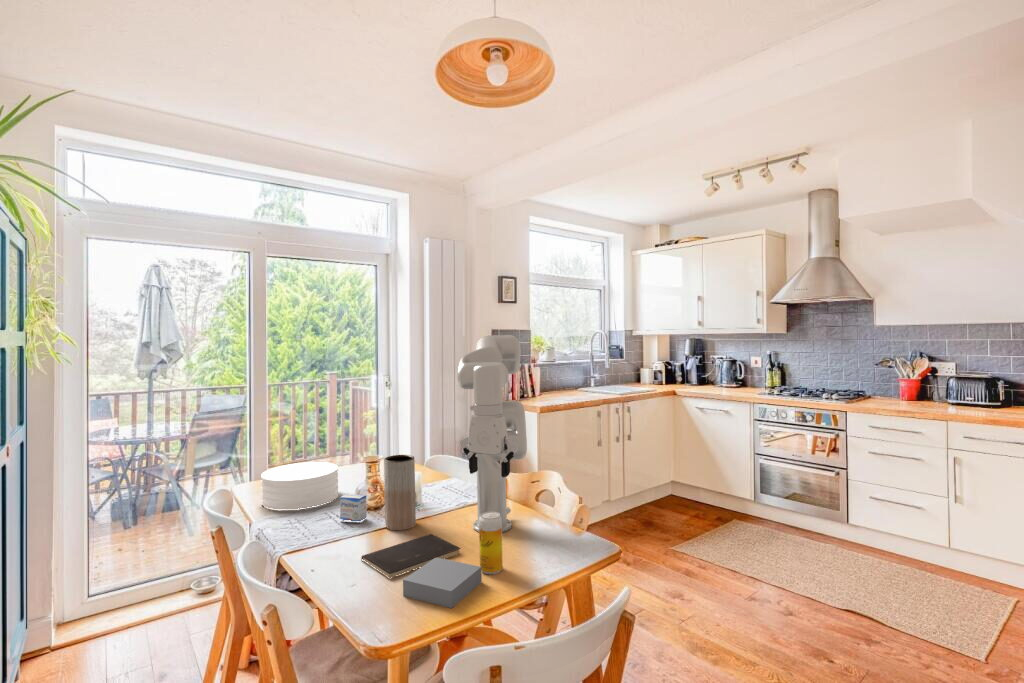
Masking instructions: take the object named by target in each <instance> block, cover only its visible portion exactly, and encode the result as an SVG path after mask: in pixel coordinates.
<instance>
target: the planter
mask: <svg viewBox="0 0 1024 683" xmlns="http://www.w3.org/2000/svg"><path fill="white" fill-rule="evenodd" d="M415 461H416V460H415V456H414V455H411V454H396V455H389V456H386V457H384V458H383V477H384V478H383V479H384V480H383V481H384V482H383V484H384V517H385V518H384V520H385V521H384V523H385V525H384V526H385V528H386V527H387V528H388V530H389V529H390V530H389V531H395V530H399V531H405V530H409V529H411V528H414V526H416V523H417V520H416V519H417V516H416V514H417V512H416V510H417V509H416V474H415V472H416V468H415V467H416V466H415V464H416V463H415ZM387 528H386V529H387Z"/></svg>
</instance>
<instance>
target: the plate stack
mask: <svg viewBox="0 0 1024 683" xmlns="http://www.w3.org/2000/svg"><path fill="white" fill-rule="evenodd" d="M338 471H339V467H338V464H337V465H336V464H334V463H330V462H323V461H321V462H320V461H316V462H315V461H309V462H295V463H291V464H284V465H280V466H275V467H272V468H270V469H267V470H266V471H265V470H264V471H263V472H262V473H261V474H260V479H261V481H260V483H261V484H260V485H261V488H260V490H261V492H260V493H261V505H262V504H263V505H264V506H265V507H268V508H273V509H298V508H299V509H300V508H307V507H312V506H317V505H321V504H324V503H327V502H330V501H332V500H334V499H335V500H337V499H338V498H339V479H338V478H339V473H338ZM337 497H338V498H337ZM336 498H337V499H336ZM335 500H334V501H335ZM332 502H333V501H332ZM330 503H331V502H330Z"/></svg>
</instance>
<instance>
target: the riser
mask: <svg viewBox="0 0 1024 683" xmlns="http://www.w3.org/2000/svg"><path fill="white" fill-rule="evenodd" d="M482 579H483V578H482V570H481V567H480V565H474V564H469V563H465V562H459V561H456V560H450V559H447V558H446V559H442V558H437V557H436V558H434V559H433V560H431V561H430V562H428V563H427V564H425V565H424V566H422V567H421V568H419V569H416V570H414V571H413V572H412V573H411V574H409V575H407V576H406V577H405V578H403V579H402V595H403V597H406V598H409V599H414V600H418V601H421V602H425V603H429V604H433V605H437V606H441V607H444V608H449V609H453V608H454V607H455V606H456V605H458V603H459V602H461V601H462V600H463V599H464V598H465V597H467V596H468V595H469V594H470V593H471V592H472V591H473V590H475V589H476V588H477V587H478V586H479V585H480V584H481V583H482V582H483V581H482Z"/></svg>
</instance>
